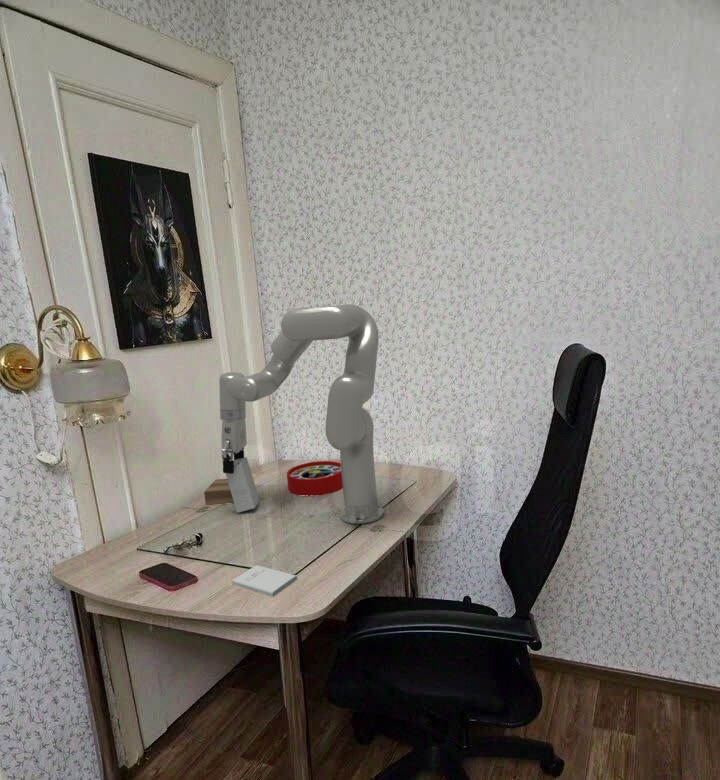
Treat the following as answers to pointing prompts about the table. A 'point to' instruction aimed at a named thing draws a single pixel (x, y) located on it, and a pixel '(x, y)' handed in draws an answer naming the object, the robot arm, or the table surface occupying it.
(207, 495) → the walnut block
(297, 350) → the robot arm
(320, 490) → the toy clock
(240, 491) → the skincare box
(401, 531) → the table surface
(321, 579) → the table surface
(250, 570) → the external hard drive
